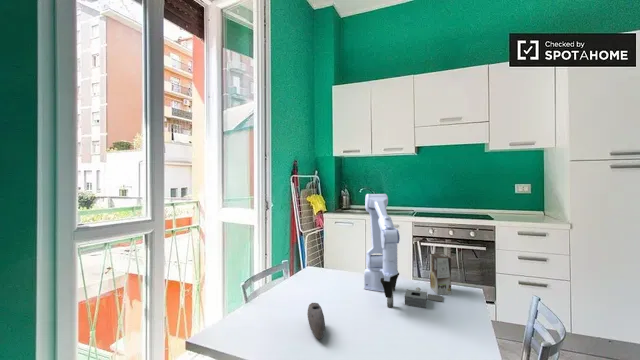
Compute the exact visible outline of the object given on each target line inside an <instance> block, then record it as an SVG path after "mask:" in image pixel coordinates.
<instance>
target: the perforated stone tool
mask: <svg viewBox="0 0 640 360" xmlns="http://www.w3.org/2000/svg"><path fill="white" fill-rule="evenodd" d="M307 321H308V325H309V328H310V329H311V331H312V333H313V335H314V337H315V338H316V339H318V340H320V339H322V338H323V336H324V335H325V332H326V331H325V330H326V323H325V322H326V321H325V316H324V313H323V308H322V307H321V305H320V304H319V303H318V302H311V303H310V304H309V305H308V308H307Z"/></svg>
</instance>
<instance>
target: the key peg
mask: <svg viewBox="0 0 640 360" xmlns="http://www.w3.org/2000/svg"><path fill="white" fill-rule="evenodd" d="M386 307H387V308H389V309H393V308H394V291H393V292H392V297H391V298H386Z"/></svg>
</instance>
